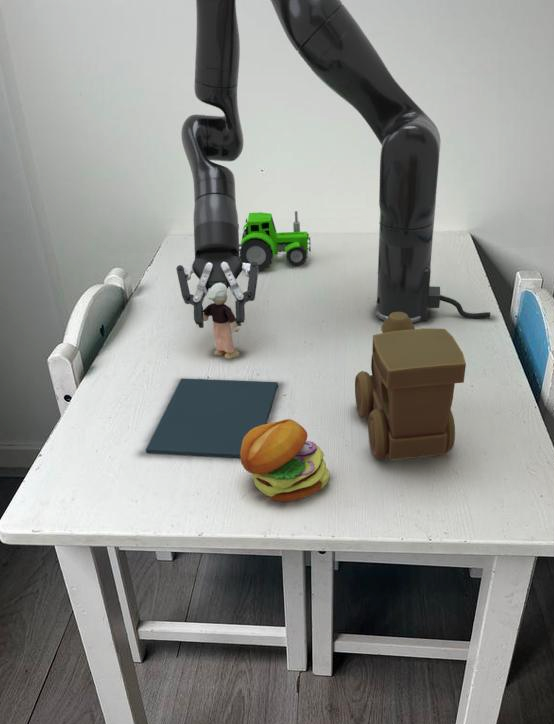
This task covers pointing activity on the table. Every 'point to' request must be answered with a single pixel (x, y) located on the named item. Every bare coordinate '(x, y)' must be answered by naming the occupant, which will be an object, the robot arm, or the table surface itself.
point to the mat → (212, 417)
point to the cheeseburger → (283, 461)
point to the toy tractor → (272, 241)
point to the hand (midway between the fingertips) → (220, 325)
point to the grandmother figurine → (221, 321)
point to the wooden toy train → (410, 390)
